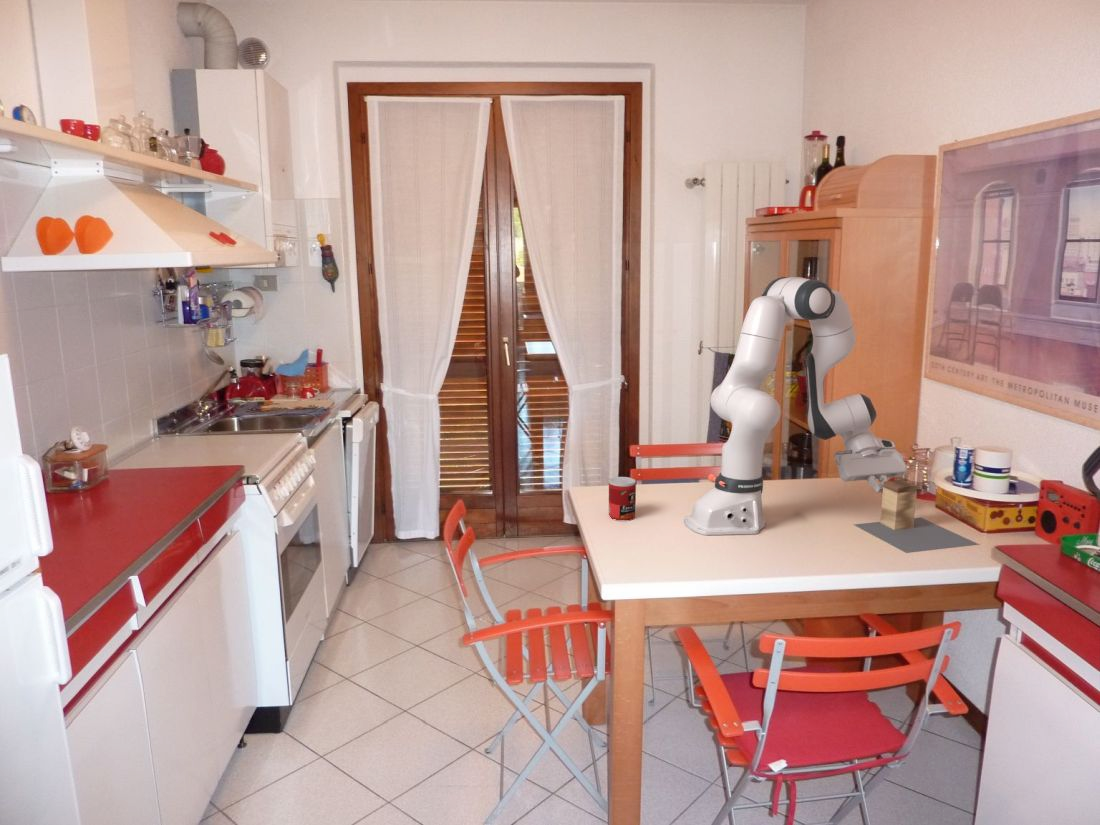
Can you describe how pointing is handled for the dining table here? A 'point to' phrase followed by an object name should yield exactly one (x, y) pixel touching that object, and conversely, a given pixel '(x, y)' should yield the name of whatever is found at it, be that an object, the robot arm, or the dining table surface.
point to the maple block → (898, 504)
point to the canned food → (622, 498)
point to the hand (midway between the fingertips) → (882, 491)
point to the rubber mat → (917, 536)
